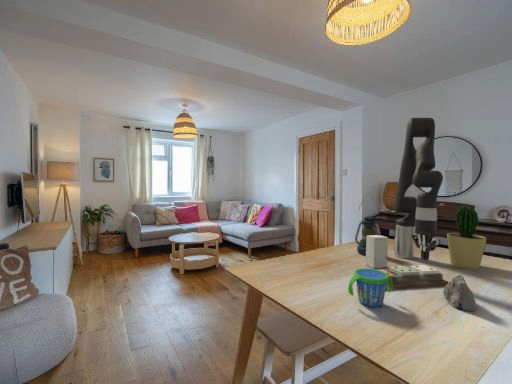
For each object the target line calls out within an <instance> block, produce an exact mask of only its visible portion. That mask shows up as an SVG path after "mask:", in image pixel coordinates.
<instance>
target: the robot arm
mask: <svg viewBox="0 0 512 384" xmlns="http://www.w3.org/2000/svg"><path fill="white" fill-rule="evenodd" d="M406 125H407V126H406V132H405V142H404V150H403V156H402V159H401V164H400V168H399V169H400V170H399V176H398V177H399V178H398V184H397V188H396V192H395V194H394V198H393V205H392V206H393V211H394V212H395V213H399V214H406V215H405V216H404V217H401V218H398V219H396V221H395V237H394V243H393V244H394V245H393V255H394V256H396V257H397V258H401V259H414V258H415V247H416V248H417V249H419V251H420V258H421V260H423V261H429V260H430V252H433V251H435V249H437V248H438V247H439V245H440V244H441V240H439V239H437V236H436V231H437V228H438V227H437V226H438V212H437V207H438V205H437V204H438V202H437V201H438V195H439V192H440V189H441V186H442V184H443V180H444V175H443V174H442V172H441V171H440V170H434V169H435V168H436V157H435V139H436V138H435V133H436V122H435V120H434V118H432V117H411V118H409V120H408V121H407V124H406ZM414 138H425V140H424V142H423V143H422V144H421V145H419V146H418V148H417V150H416V147H415V144H414ZM412 185H413V186H415V187H416V188H422V189H423V188H424V189H425V188H428V189H429V188H430V190H429V191H427V192H423V193H418V194H417V195H416V197H415V196H413V195H412V196H411V195H410V196H409V195H408V196H406V195H405V194H406V193H407V191H408V190H409V188H410V187H412Z"/></svg>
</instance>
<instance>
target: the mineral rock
mask: <svg viewBox="0 0 512 384" xmlns="http://www.w3.org/2000/svg"><path fill="white" fill-rule="evenodd" d="M448 282H449V283H448V284H446V285H445V286H444V288H443V292H442V293H443V296H444V298H445V300H446V301H447V302H448V303H449V304H450V305H451V306H452V307H454V308H455V309H458V310H463V311H465V312H471V311H473V312H474V311H476V310H478V308H477V302H476V299H475V295H474V293H473V291H472V290H471V288H470V287H469V286H468V284H467V282H466V279H465V278H464V277H463V276H462V275H461V274H459V275H456V276H454V277H452V279H451V281H448Z"/></svg>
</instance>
